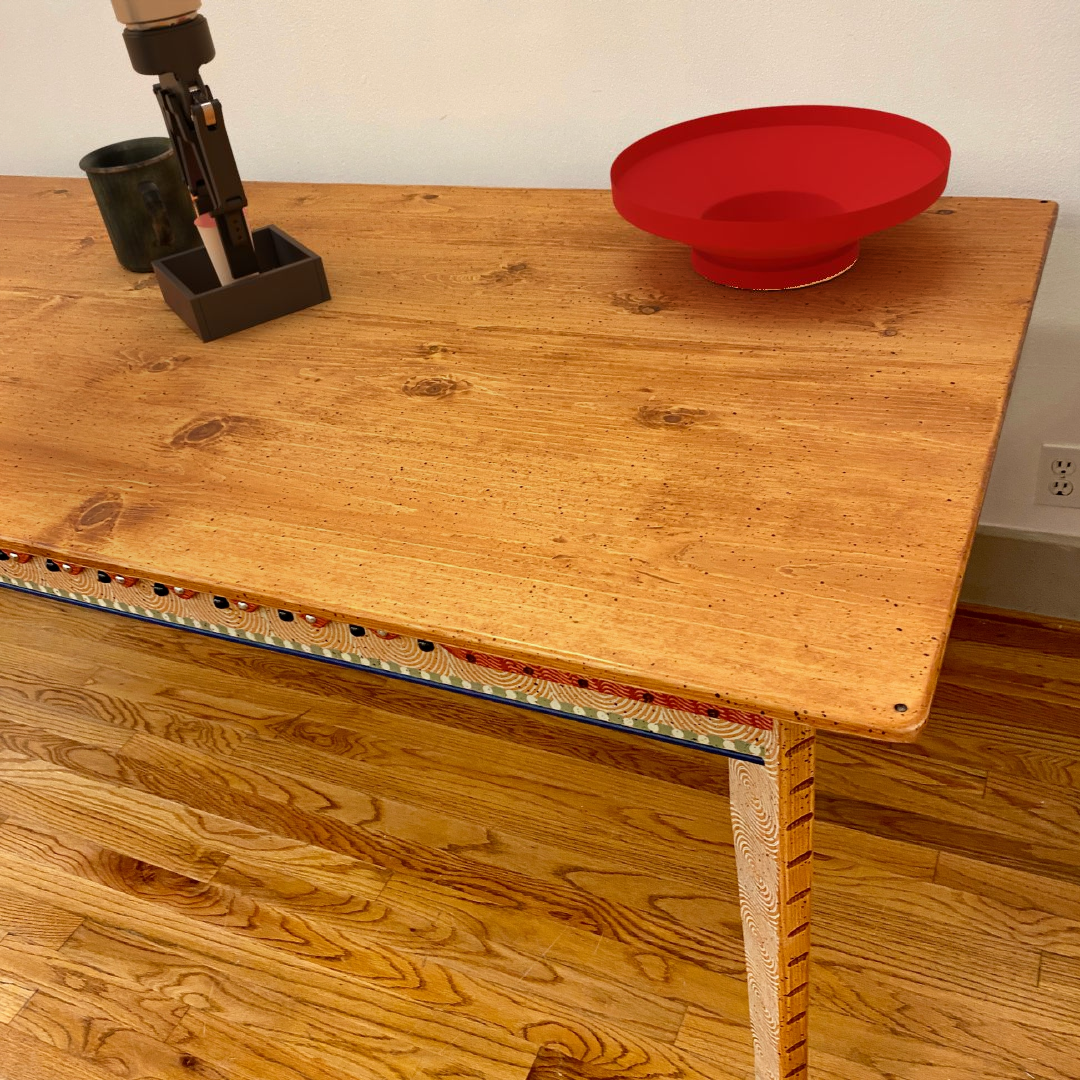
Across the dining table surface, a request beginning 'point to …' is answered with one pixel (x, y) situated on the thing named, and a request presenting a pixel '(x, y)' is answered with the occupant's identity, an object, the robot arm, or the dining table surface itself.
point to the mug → (142, 200)
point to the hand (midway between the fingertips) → (236, 265)
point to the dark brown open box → (242, 285)
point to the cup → (218, 247)
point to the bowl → (779, 188)
